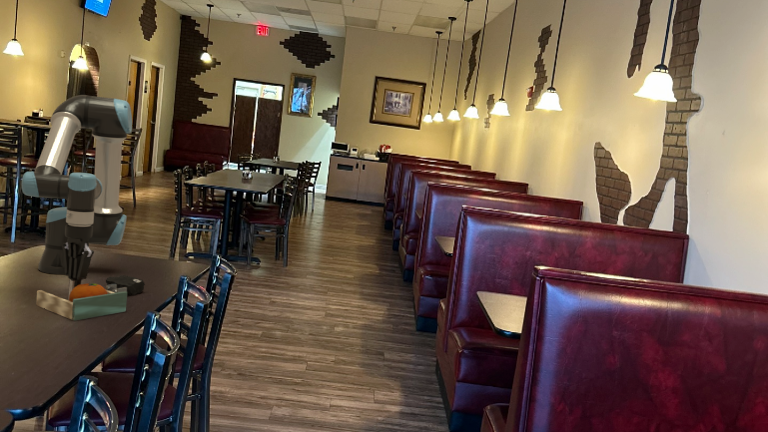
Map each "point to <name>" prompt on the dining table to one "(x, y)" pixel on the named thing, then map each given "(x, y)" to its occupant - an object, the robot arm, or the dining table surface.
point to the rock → (127, 284)
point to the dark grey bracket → (113, 288)
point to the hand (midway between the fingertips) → (73, 300)
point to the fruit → (86, 291)
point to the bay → (83, 305)
